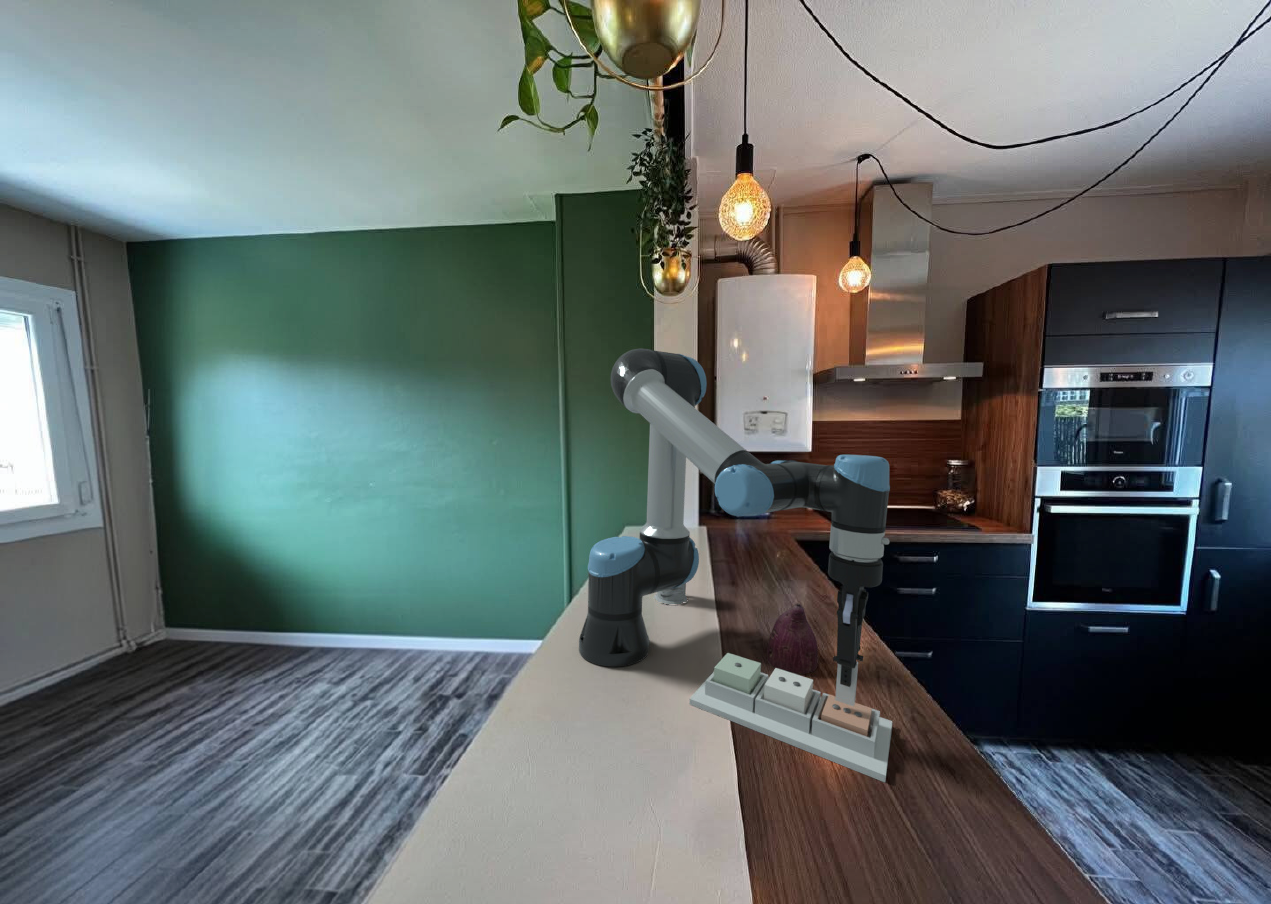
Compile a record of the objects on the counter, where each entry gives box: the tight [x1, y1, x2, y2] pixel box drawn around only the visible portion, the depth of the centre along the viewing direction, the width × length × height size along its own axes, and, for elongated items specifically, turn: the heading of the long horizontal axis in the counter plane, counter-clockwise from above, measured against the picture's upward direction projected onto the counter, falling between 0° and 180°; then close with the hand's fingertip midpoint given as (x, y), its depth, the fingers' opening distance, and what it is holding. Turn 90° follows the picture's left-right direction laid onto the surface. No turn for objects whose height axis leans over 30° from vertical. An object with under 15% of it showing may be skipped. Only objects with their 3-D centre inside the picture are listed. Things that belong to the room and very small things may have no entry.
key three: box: [821, 693, 873, 737], centre depth 71 cm, size 6×6×3 cm
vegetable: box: [766, 602, 819, 675], centre depth 92 cm, size 10×10×15 cm
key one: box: [713, 652, 762, 695], centre depth 81 cm, size 6×6×3 cm
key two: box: [764, 667, 814, 714], centre depth 76 cm, size 6×6×3 cm
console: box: [688, 671, 893, 783], centre depth 76 cm, size 30×14×4 cm, turn 57°
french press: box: [654, 583, 688, 604], centre depth 125 cm, size 10×12×25 cm
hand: (845, 700), depth 71 cm, fingers closed
